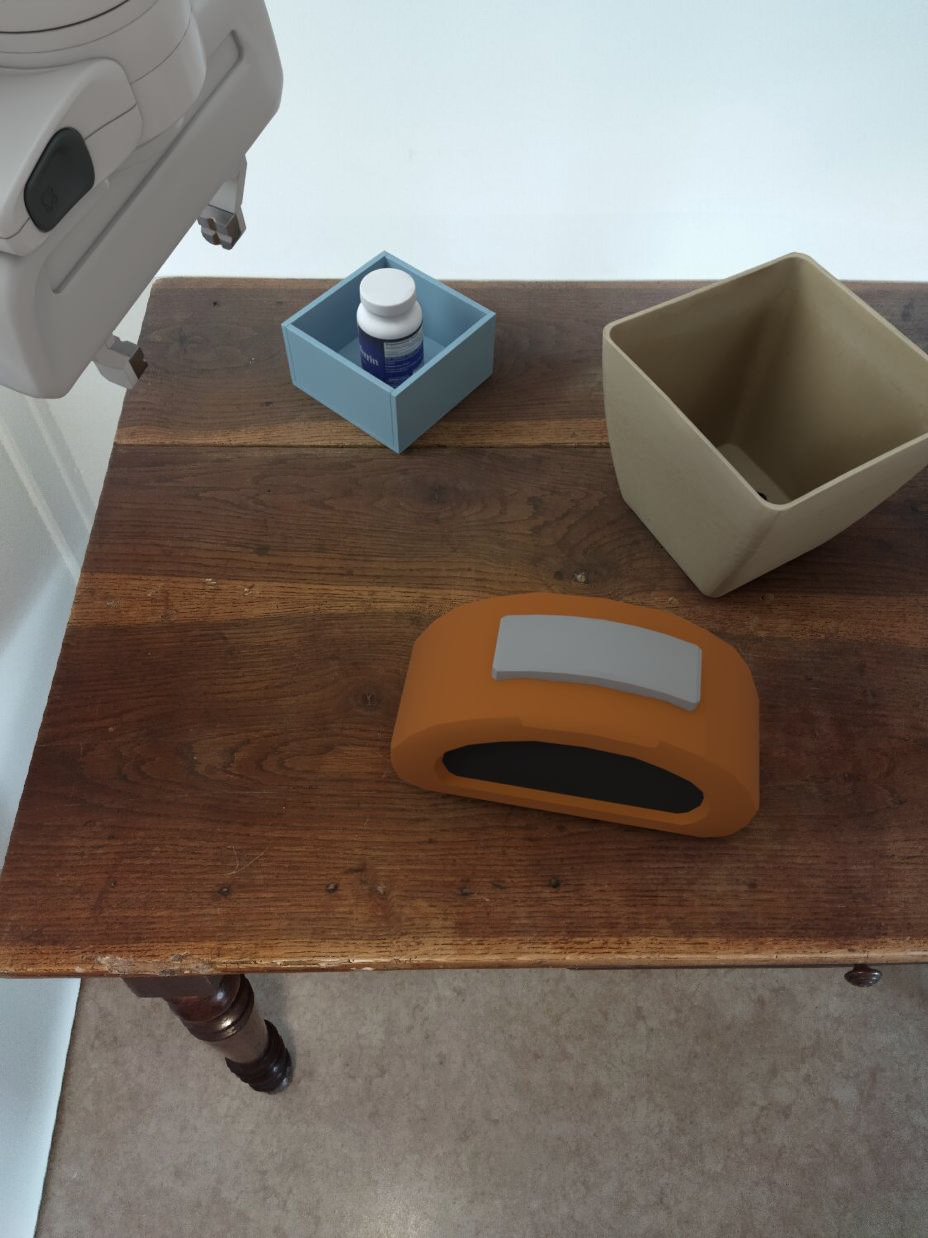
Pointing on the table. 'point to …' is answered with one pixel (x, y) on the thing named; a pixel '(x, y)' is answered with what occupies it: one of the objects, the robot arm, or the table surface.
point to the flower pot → (760, 417)
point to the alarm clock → (582, 713)
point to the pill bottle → (390, 326)
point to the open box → (391, 416)
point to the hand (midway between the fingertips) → (178, 303)
